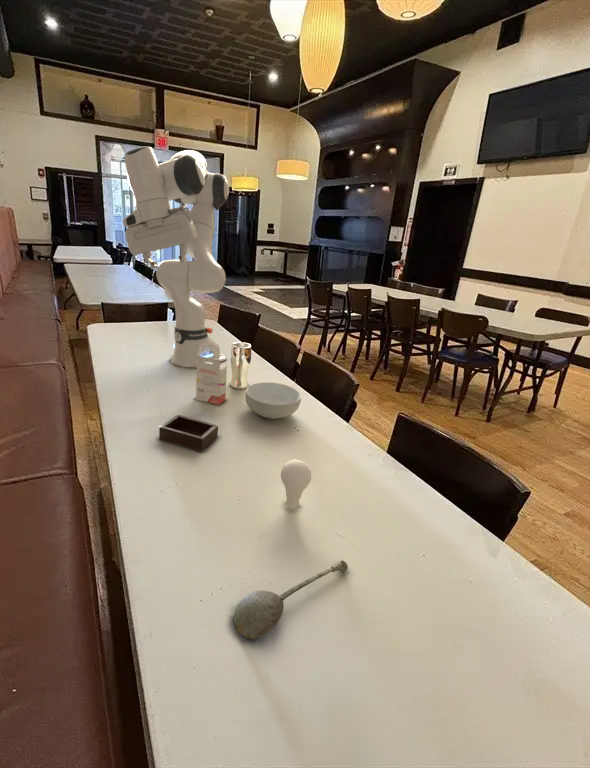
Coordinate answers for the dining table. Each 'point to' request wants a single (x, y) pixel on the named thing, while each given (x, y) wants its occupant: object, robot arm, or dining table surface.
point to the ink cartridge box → (211, 380)
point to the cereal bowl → (272, 399)
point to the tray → (188, 432)
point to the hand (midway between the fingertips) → (168, 265)
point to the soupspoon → (268, 607)
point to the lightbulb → (295, 481)
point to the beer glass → (240, 364)
